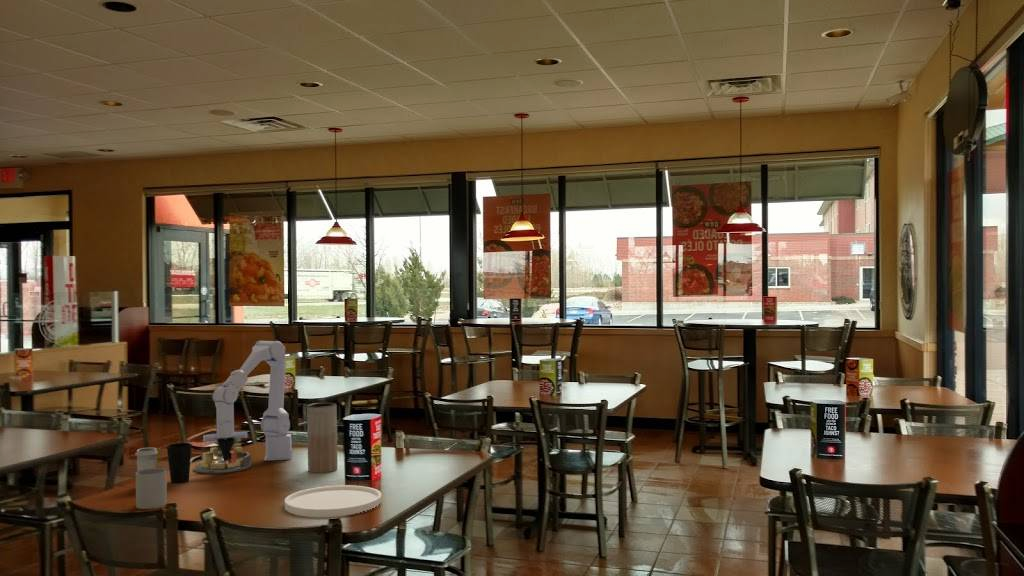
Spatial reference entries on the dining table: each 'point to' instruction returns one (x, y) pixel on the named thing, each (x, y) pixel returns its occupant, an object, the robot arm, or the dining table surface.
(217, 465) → the ring nut
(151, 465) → the cup
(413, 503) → the dining table surface
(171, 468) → the cup
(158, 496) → the cup
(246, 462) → the round serving tray
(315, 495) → the plate
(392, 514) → the dining table surface
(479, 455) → the dining table surface
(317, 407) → the planter
